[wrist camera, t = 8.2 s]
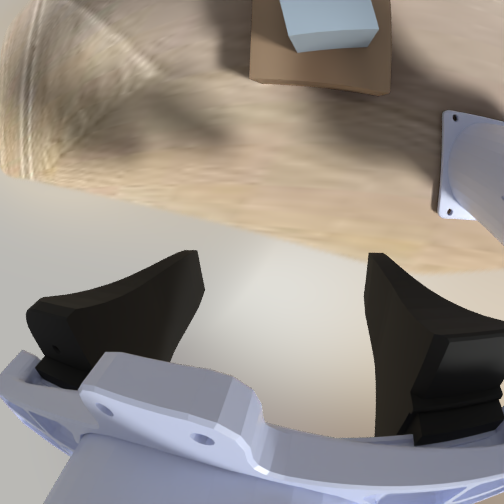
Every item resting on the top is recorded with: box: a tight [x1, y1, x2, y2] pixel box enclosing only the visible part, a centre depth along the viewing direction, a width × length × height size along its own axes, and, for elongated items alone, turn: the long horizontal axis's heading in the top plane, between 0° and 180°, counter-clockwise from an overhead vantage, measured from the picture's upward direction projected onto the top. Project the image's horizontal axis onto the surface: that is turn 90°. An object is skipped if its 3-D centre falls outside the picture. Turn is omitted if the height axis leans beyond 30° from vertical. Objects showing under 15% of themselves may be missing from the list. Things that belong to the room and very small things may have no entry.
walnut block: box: [249, 0, 392, 96], centre depth 14 cm, size 8×8×4 cm
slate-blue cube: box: [280, 0, 379, 53], centre depth 10 cm, size 4×4×4 cm
